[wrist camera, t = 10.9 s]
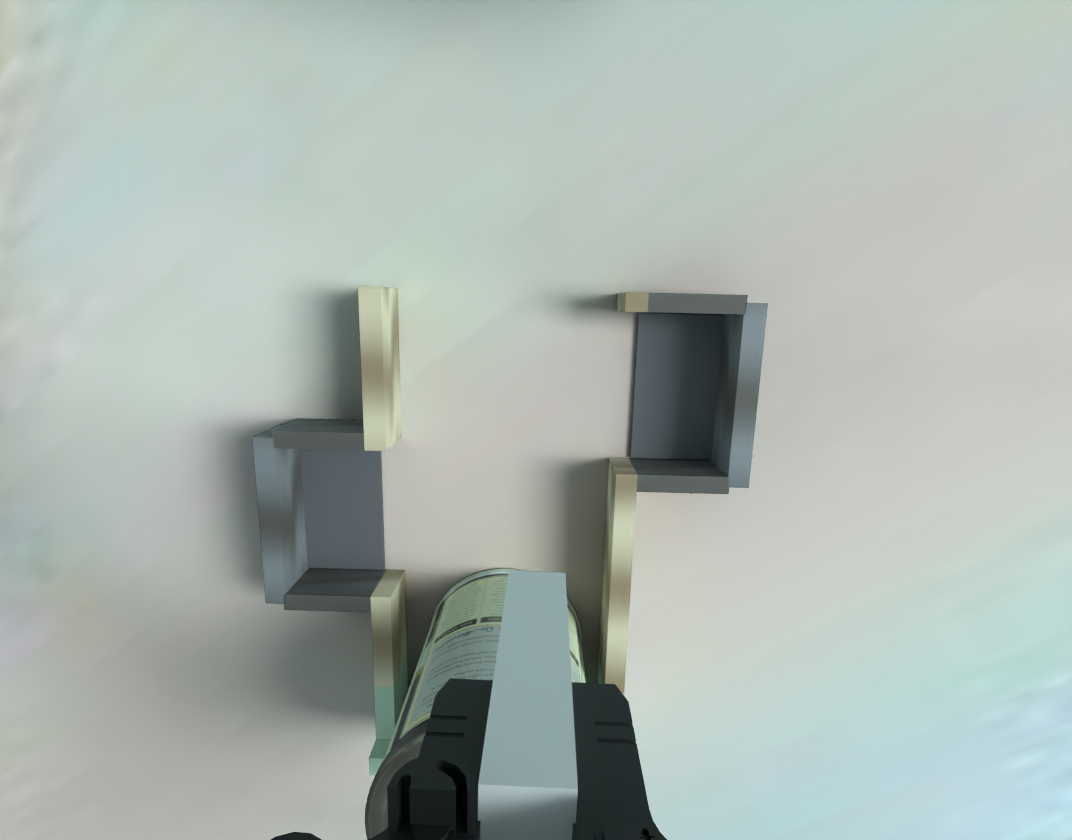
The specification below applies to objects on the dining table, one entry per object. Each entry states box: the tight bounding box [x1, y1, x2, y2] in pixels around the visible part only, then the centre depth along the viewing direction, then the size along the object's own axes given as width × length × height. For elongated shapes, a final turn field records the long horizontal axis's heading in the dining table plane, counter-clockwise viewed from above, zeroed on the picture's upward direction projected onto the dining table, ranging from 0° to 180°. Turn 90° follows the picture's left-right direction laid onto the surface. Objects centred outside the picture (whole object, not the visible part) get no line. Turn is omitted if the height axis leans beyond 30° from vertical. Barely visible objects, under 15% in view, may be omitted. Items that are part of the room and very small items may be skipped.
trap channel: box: [252, 286, 768, 693], centre depth 34 cm, size 24×28×4 cm
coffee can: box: [365, 569, 586, 839], centre depth 31 cm, size 10×10×14 cm
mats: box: [300, 313, 724, 570], centre depth 35 cm, size 17×26×1 cm, turn 89°
